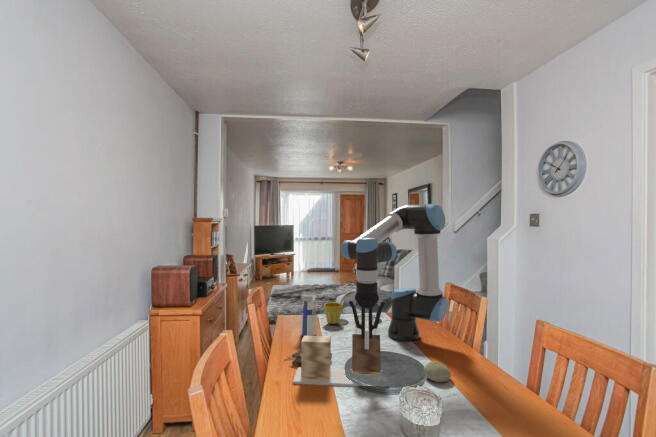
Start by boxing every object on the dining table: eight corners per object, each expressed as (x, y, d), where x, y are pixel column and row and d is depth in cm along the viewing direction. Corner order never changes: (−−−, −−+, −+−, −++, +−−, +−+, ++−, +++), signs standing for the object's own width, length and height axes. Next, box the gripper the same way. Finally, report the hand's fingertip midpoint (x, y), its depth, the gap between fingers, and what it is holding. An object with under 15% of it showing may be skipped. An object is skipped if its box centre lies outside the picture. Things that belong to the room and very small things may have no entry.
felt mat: (385, 373, 123) (385, 370, 123) (389, 387, 112) (389, 385, 112) (298, 369, 126) (298, 367, 126) (292, 383, 115) (292, 381, 115)
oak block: (330, 371, 123) (330, 336, 123) (329, 379, 117) (329, 342, 117) (303, 370, 123) (303, 335, 123) (301, 378, 117) (301, 341, 117)
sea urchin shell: (449, 366, 123) (451, 358, 117) (449, 389, 118) (451, 382, 112) (424, 362, 126) (424, 354, 120) (423, 384, 121) (423, 377, 115)
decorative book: (296, 352, 143) (296, 341, 143) (332, 361, 135) (332, 348, 135) (277, 364, 131) (277, 351, 131) (316, 374, 123) (316, 360, 123)
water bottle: (320, 332, 168) (321, 283, 168) (310, 337, 160) (311, 285, 161) (307, 329, 172) (307, 281, 172) (297, 334, 165) (297, 284, 165)
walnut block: (379, 373, 121) (378, 336, 126) (380, 374, 116) (379, 334, 121) (352, 372, 122) (352, 335, 127) (352, 373, 116) (352, 334, 122)
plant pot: (336, 326, 178) (336, 307, 178) (320, 323, 183) (320, 305, 183) (345, 321, 187) (345, 303, 187) (329, 318, 192) (330, 301, 192)
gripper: (384, 279, 121) (384, 344, 121) (348, 279, 122) (348, 343, 122) (386, 283, 114) (386, 352, 114) (348, 283, 115) (348, 351, 115)
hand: (366, 347), depth 118 cm, fingers closed
